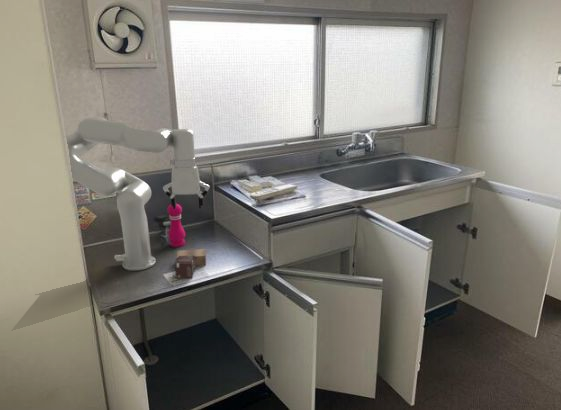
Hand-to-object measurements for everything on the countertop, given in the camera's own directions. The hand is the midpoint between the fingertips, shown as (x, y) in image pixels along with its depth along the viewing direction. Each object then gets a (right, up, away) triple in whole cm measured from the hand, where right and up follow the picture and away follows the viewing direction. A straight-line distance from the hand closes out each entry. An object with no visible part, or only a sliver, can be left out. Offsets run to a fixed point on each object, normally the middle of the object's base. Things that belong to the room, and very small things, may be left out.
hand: (187, 207), depth 168 cm
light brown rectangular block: (0, -22, +8) cm, 23 cm away
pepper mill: (-10, -16, +27) cm, 33 cm away
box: (0, -21, +1) cm, 21 cm away
